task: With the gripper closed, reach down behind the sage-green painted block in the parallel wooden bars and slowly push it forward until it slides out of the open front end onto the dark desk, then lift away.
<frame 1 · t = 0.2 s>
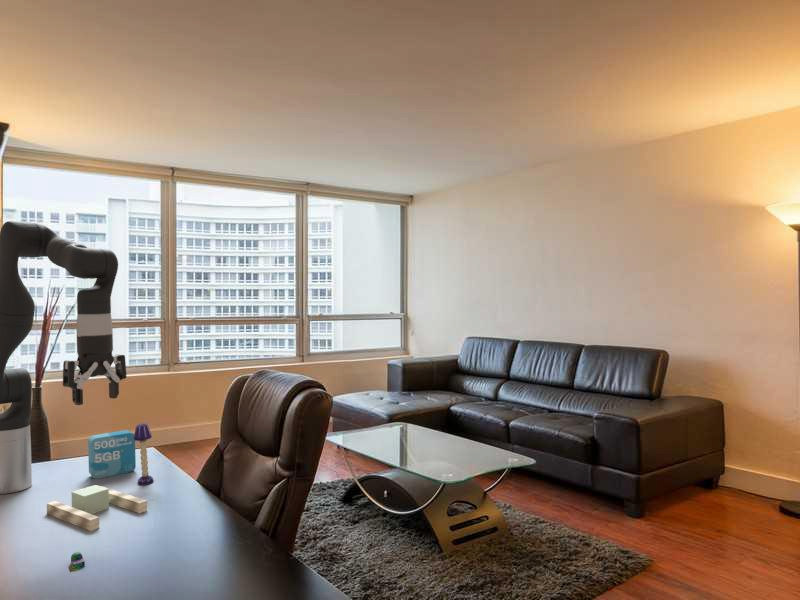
hand: (96, 401, 136), 28 cm above the table, fingers open, 8 cm apart
parallel wooden bars: (97, 512, 142), on the table
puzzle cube: (78, 568, 114), on the table
data package: (112, 474, 172), on the table
toy lamp: (144, 483, 163), on the table
sage block: (90, 510, 143), on the table
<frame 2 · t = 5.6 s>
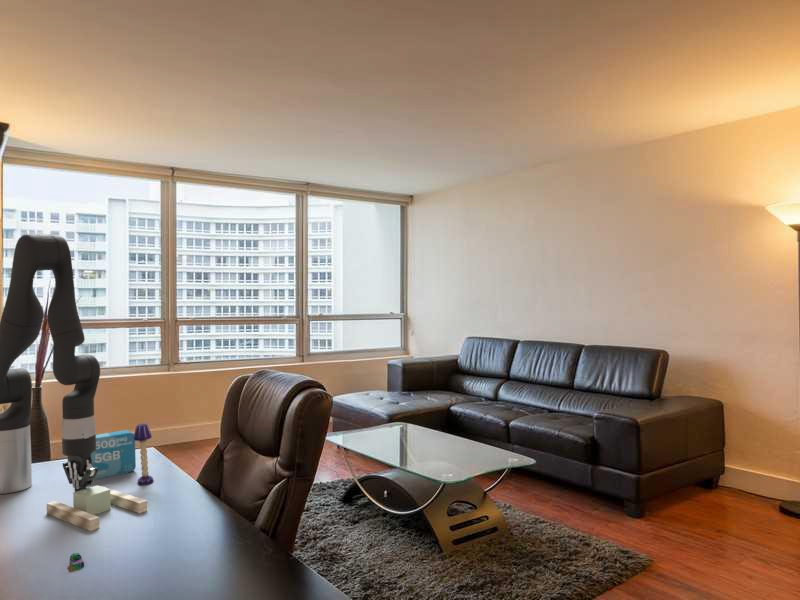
hand: (80, 501, 146), 1 cm above the table, fingers closed
sage block: (92, 510, 143), on the table, touching gripper
everything else where it was.
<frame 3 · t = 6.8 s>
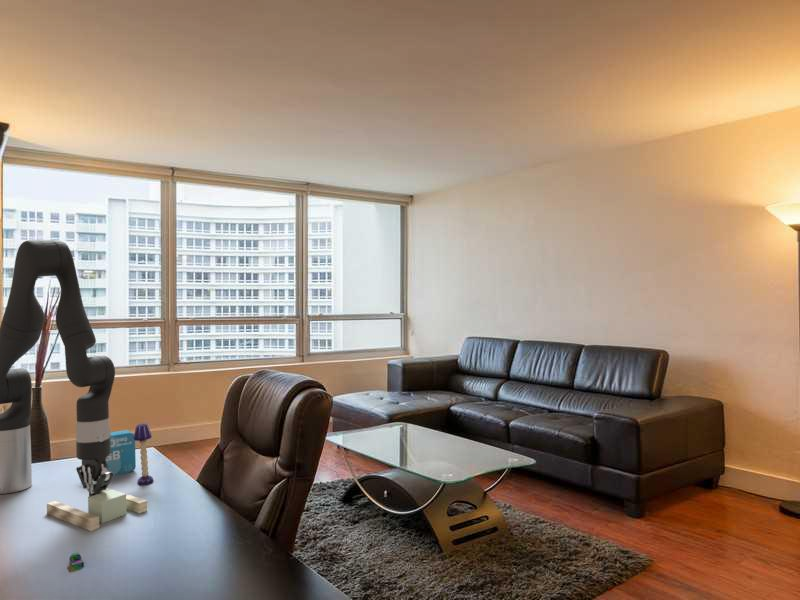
hand: (95, 506, 142), 1 cm above the table, fingers closed
sage block: (107, 516, 139), on the table, touching gripper
everything else where it was.
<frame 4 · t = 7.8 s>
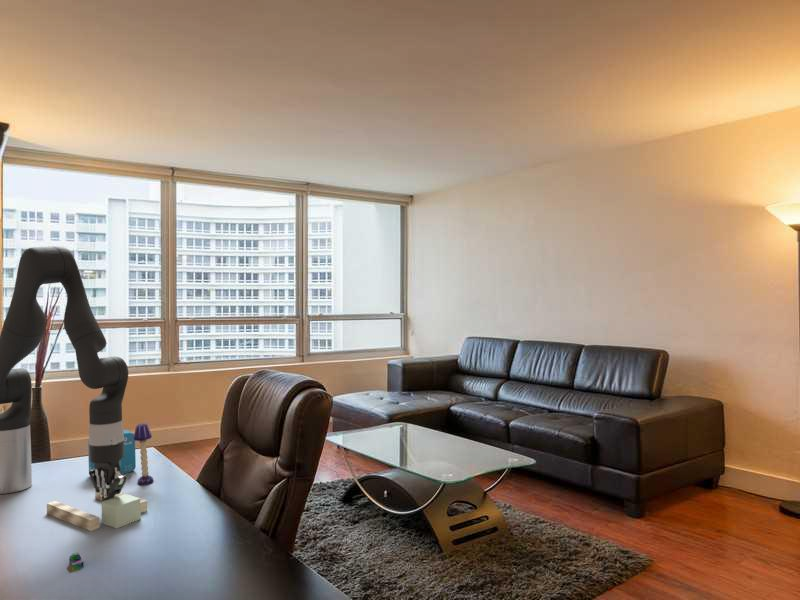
hand: (108, 511, 139), 1 cm above the table, fingers closed
sage block: (121, 521, 136), on the table, touching gripper
everything else where it was.
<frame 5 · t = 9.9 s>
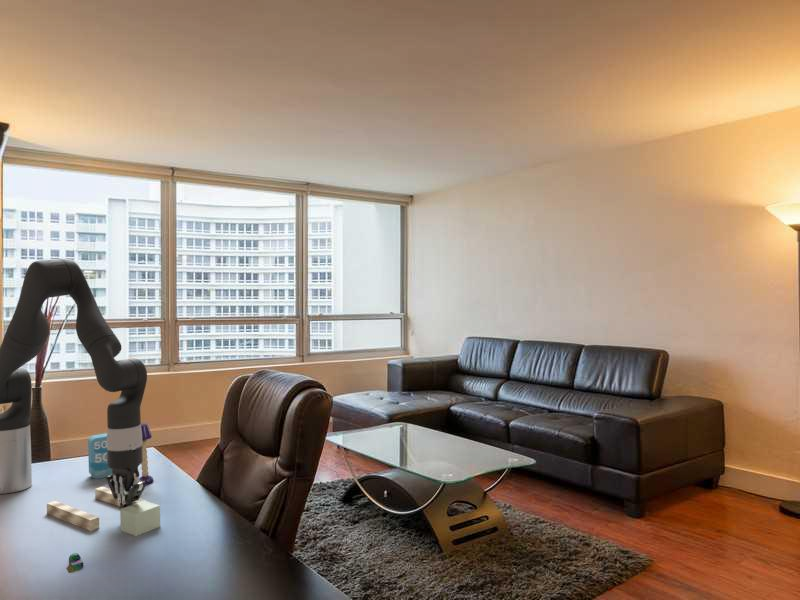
hand: (126, 518, 135), 1 cm above the table, fingers closed
sage block: (140, 528, 131), on the table, touching gripper
everything else where it was.
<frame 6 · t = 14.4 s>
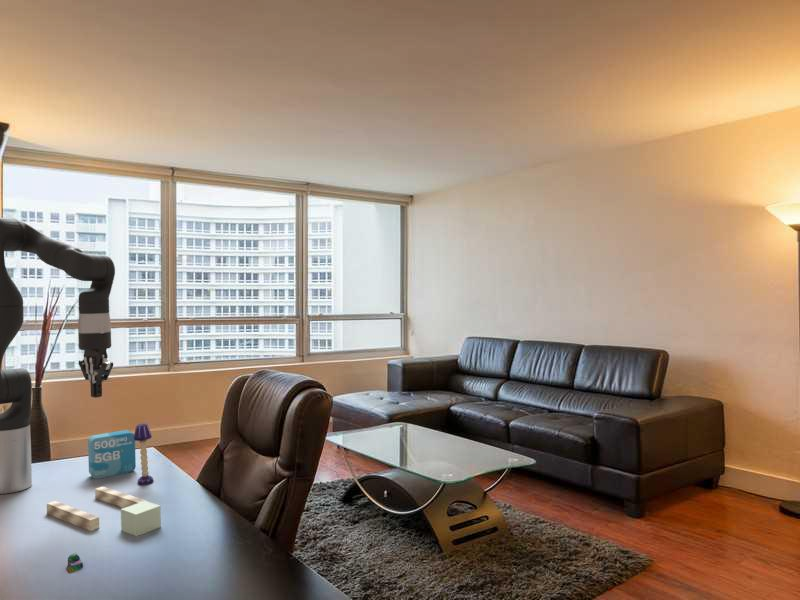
hand: (96, 396, 150), 27 cm above the table, fingers closed
sage block: (141, 529, 131), on the table
everything else where it was.
at the end: sage block inside the target area (0.8 cm from its centre), on the table; sage block tilted 0°; sage block moved 21.7 cm from its start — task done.
